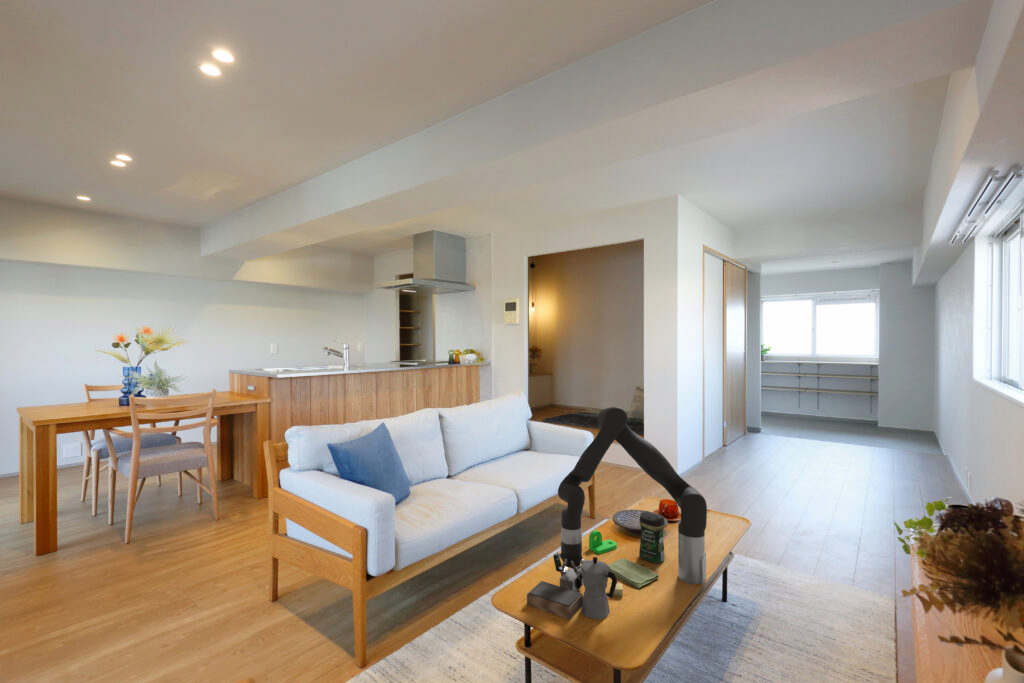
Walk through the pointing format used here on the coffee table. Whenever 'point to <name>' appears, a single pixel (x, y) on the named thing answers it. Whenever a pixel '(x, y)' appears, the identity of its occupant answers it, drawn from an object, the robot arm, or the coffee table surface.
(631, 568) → the washcloth
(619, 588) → the brass block
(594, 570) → the coffeepot
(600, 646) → the coffee table surface
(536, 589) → the stand
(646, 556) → the coffee jar
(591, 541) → the mechanical part
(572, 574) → the block
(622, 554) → the coffee table surface
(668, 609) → the coffee table surface
